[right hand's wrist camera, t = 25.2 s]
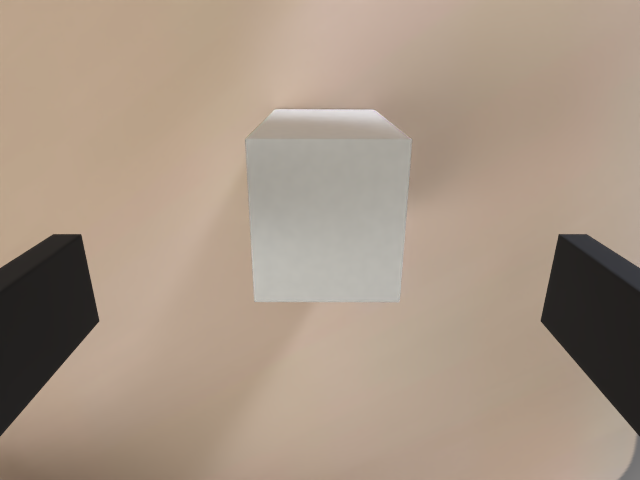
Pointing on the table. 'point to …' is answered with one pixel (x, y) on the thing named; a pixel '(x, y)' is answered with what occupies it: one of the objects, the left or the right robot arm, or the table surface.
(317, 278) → the brick
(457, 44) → the table surface
